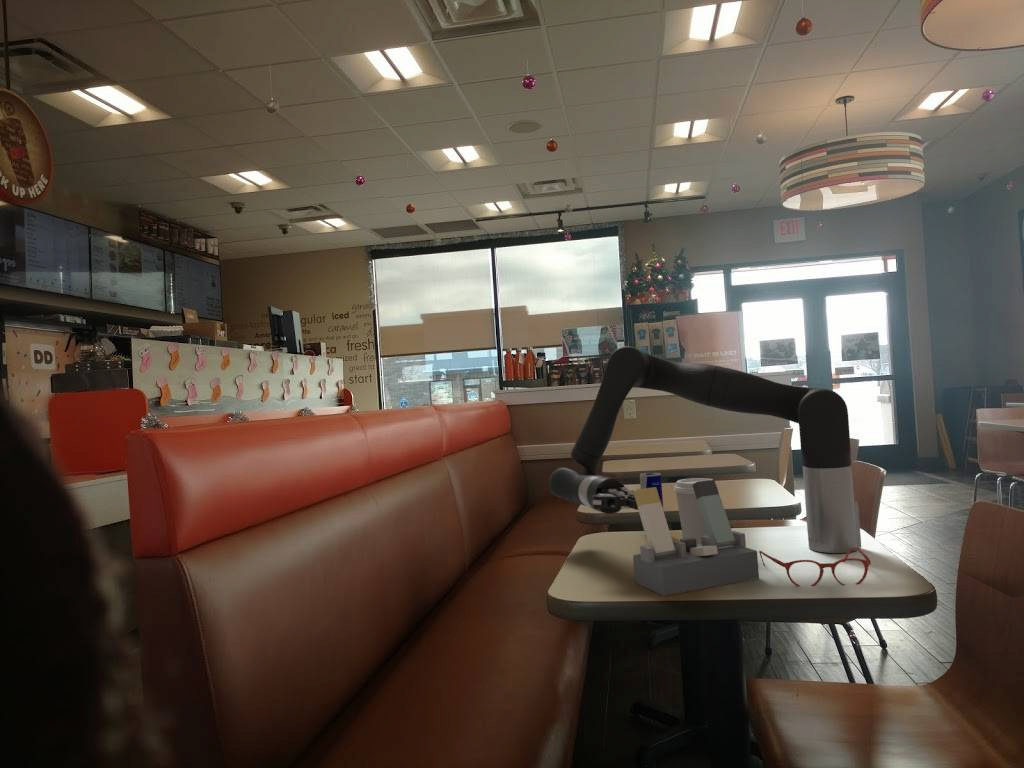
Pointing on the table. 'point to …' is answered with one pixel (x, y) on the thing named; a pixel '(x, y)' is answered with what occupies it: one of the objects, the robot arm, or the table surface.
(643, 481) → the beverage can
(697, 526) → the coffee cup
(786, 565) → the red eyeglasses
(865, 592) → the table surface
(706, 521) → the teal lever
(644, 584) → the console
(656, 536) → the white and yellow lever
